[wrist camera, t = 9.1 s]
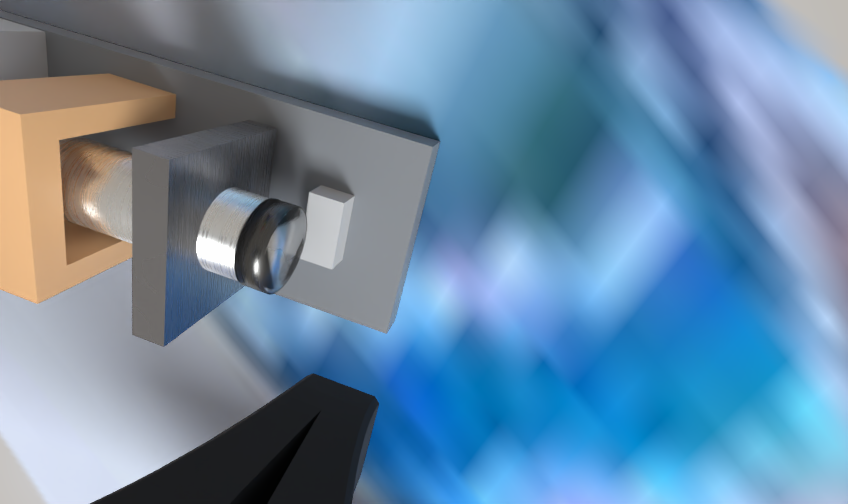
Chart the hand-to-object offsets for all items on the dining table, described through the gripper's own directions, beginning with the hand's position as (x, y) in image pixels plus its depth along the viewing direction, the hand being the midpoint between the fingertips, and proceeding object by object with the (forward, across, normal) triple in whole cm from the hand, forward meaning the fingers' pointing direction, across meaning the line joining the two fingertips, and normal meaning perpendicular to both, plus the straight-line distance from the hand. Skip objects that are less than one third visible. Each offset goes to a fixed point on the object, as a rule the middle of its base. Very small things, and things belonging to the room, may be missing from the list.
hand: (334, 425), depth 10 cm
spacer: (+8, +11, 0) cm, 14 cm away
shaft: (+8, +10, 0) cm, 13 cm away
